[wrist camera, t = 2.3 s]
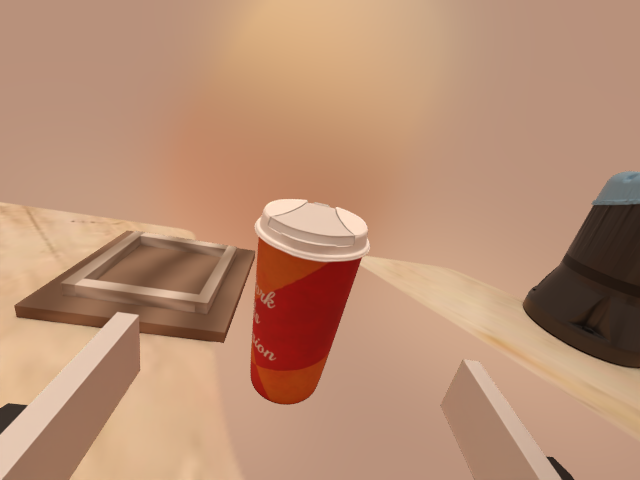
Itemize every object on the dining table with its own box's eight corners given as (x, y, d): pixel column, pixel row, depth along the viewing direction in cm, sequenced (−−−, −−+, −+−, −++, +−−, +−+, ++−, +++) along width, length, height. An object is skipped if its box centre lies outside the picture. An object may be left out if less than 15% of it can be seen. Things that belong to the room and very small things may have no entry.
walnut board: (254, 258, 45) (256, 243, 44) (223, 342, 29) (225, 321, 28) (127, 238, 43) (126, 222, 43) (16, 316, 27) (11, 292, 26)
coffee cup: (253, 333, 31) (274, 189, 25) (333, 352, 31) (372, 211, 25) (219, 405, 23) (237, 220, 17) (326, 431, 23) (379, 252, 17)
